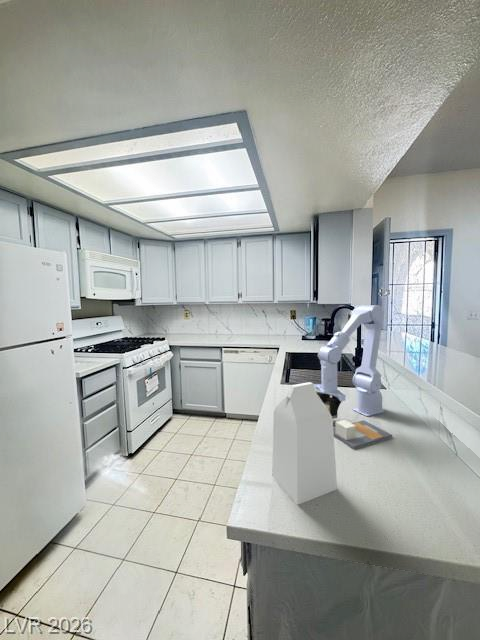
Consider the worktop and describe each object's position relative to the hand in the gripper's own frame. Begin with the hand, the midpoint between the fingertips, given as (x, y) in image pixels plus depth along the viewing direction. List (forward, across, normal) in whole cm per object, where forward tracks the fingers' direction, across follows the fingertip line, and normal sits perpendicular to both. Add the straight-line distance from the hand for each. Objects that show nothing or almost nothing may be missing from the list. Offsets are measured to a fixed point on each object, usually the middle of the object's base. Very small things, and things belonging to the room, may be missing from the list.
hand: (329, 412), depth 102 cm
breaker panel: (+4, +12, +2) cm, 13 cm away
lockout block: (+2, 0, 0) cm, 2 cm away
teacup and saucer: (+4, -26, +15) cm, 31 cm away
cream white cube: (+2, +12, -4) cm, 13 cm away
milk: (+4, +24, -29) cm, 38 cm away
